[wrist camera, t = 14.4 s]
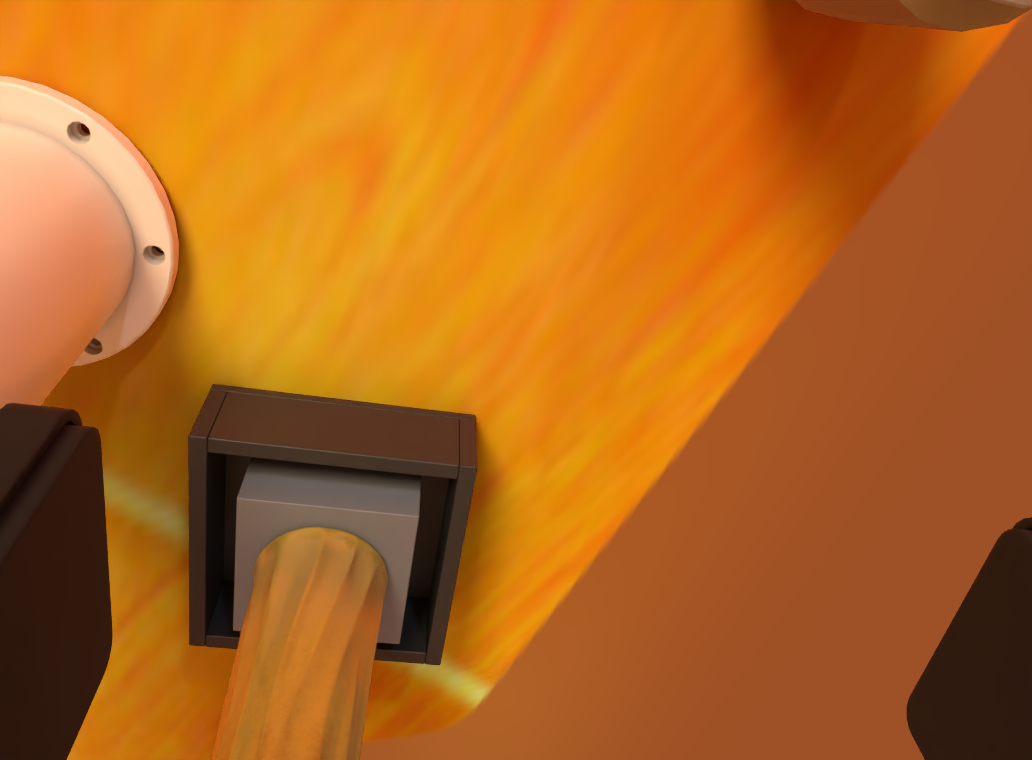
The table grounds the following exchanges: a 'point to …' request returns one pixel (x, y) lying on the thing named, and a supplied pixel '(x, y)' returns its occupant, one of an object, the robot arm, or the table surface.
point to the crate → (334, 442)
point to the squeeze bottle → (923, 12)
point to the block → (329, 522)
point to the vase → (305, 650)
